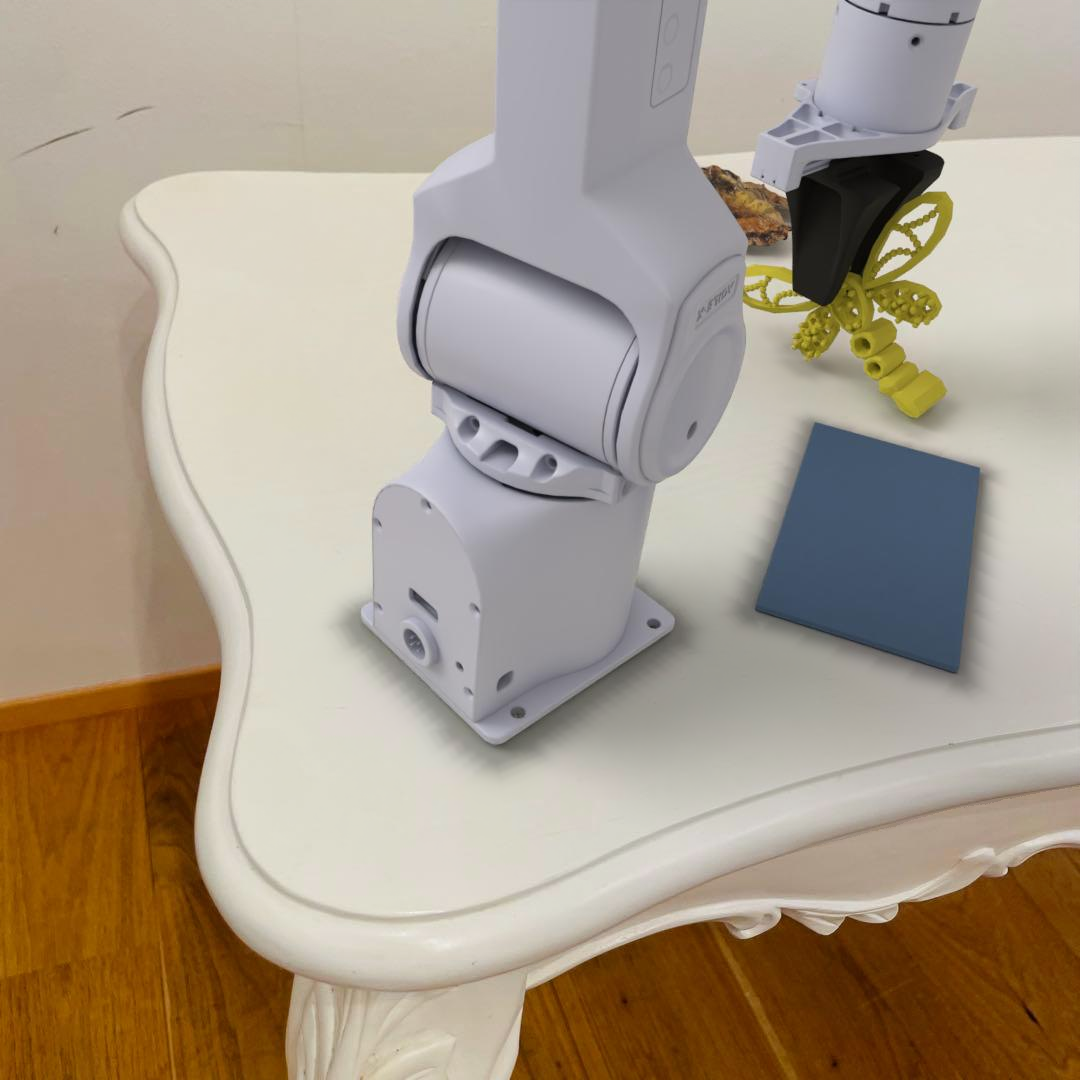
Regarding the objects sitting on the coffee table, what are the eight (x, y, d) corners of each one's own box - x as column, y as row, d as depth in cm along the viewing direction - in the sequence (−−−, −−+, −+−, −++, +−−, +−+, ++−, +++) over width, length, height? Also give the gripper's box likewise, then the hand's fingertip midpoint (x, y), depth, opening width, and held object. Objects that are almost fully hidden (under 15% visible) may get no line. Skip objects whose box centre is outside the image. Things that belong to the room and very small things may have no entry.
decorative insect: (789, 449, 61) (718, 279, 59) (820, 426, 63) (752, 261, 61) (1011, 397, 50) (934, 190, 49) (1040, 372, 52) (967, 171, 50)
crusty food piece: (643, 243, 67) (652, 195, 65) (678, 168, 76) (685, 123, 74) (784, 272, 66) (796, 224, 64) (801, 192, 75) (813, 148, 73)
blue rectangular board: (956, 673, 42) (959, 668, 42) (754, 609, 44) (756, 604, 44) (978, 472, 53) (980, 467, 52) (813, 426, 54) (815, 421, 54)
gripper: (919, -41, 53) (842, 225, 62) (725, -2, 45) (668, 297, 54) (1054, 2, 49) (951, 277, 58) (869, 52, 41) (782, 363, 50)
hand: (823, 291), depth 56 cm, fingers closed on decorative insect
